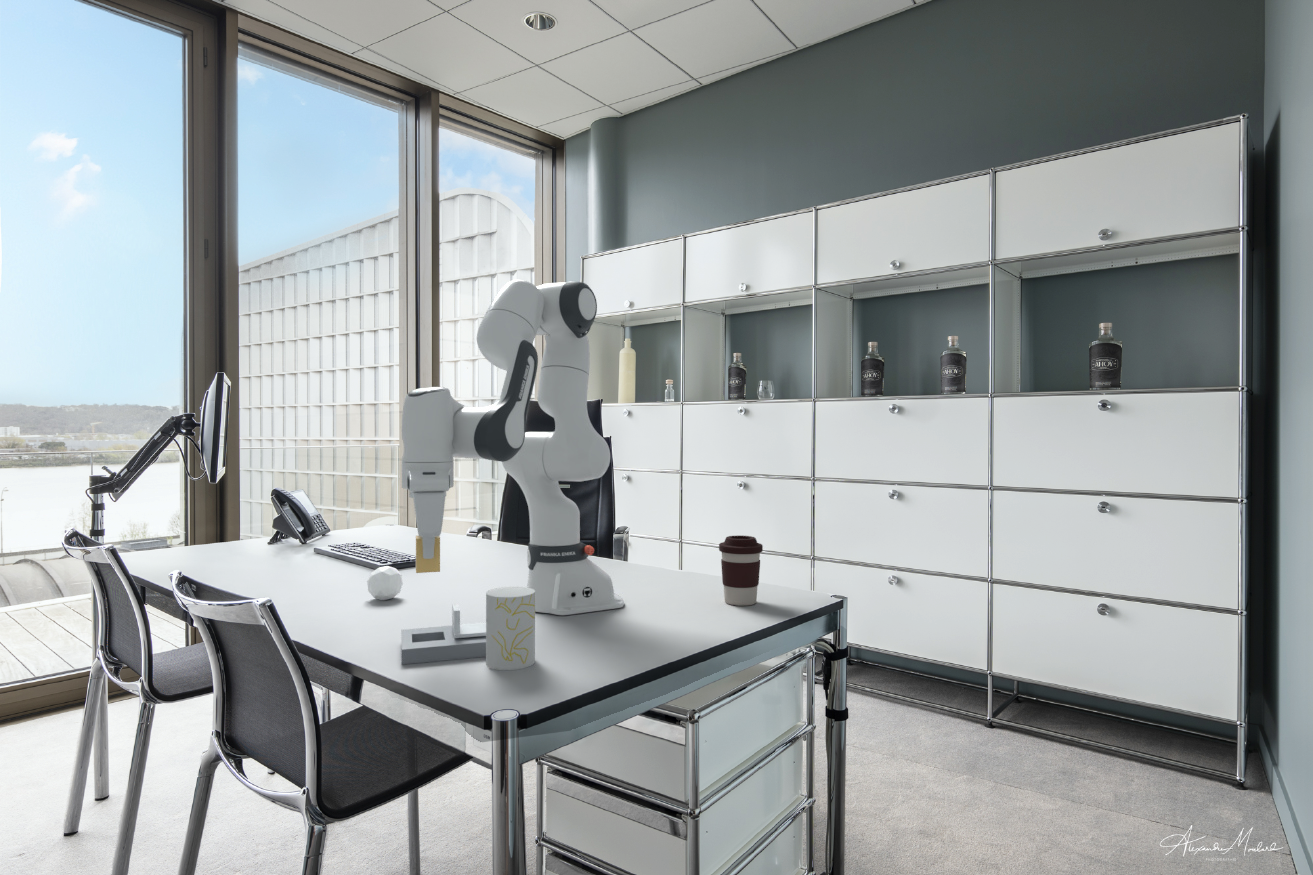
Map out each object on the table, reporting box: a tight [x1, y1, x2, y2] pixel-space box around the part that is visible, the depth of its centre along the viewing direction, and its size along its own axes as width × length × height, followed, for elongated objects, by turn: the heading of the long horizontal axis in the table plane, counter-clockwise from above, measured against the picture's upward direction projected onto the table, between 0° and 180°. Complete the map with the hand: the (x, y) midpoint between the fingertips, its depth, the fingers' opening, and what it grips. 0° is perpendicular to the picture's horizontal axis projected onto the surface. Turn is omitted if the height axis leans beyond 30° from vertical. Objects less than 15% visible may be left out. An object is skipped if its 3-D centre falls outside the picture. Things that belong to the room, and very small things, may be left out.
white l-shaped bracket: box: [451, 603, 486, 638], centre depth 134 cm, size 7×6×5 cm
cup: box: [485, 586, 536, 671], centre depth 125 cm, size 8×8×12 cm
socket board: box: [400, 625, 486, 665], centre depth 133 cm, size 13×15×2 cm
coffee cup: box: [718, 535, 764, 607], centre depth 169 cm, size 10×10×15 cm
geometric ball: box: [366, 565, 404, 601], centre depth 171 cm, size 8×8×8 cm
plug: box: [415, 535, 441, 574], centre depth 132 cm, size 4×4×8 cm
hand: (427, 555), depth 132 cm, fingers closed on plug, 4 cm apart
